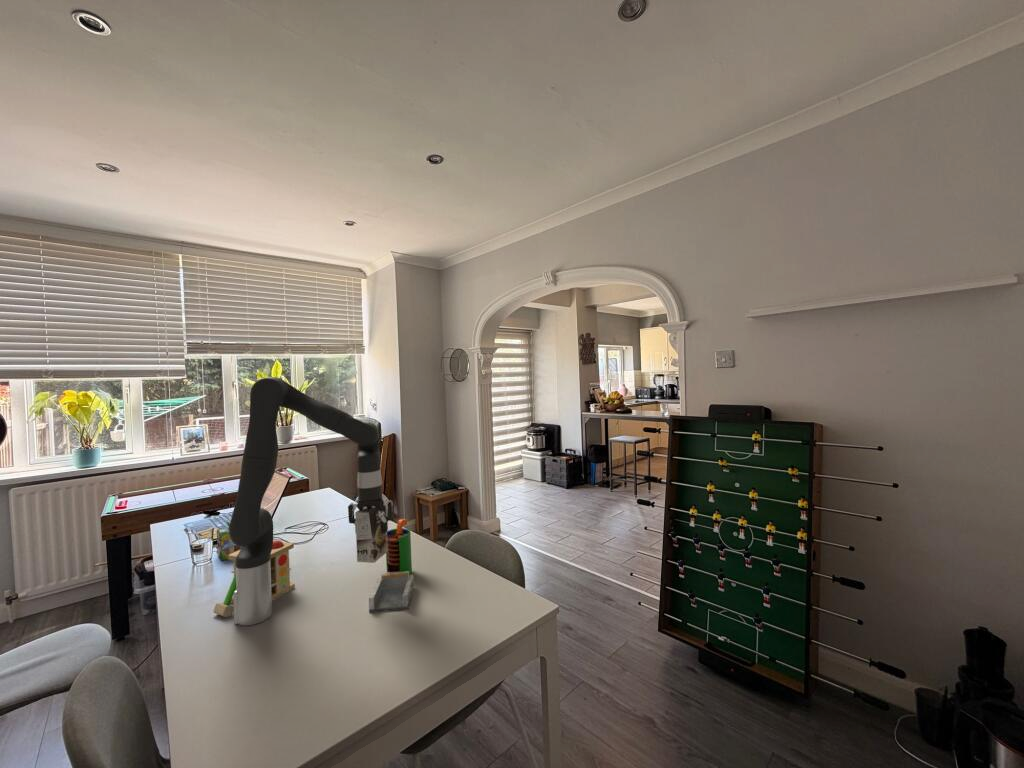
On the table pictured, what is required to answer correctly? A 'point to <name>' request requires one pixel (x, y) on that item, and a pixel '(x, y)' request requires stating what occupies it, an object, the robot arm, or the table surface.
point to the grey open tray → (392, 592)
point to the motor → (399, 549)
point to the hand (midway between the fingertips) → (372, 534)
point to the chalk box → (225, 543)
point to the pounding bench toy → (278, 576)
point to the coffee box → (370, 535)
